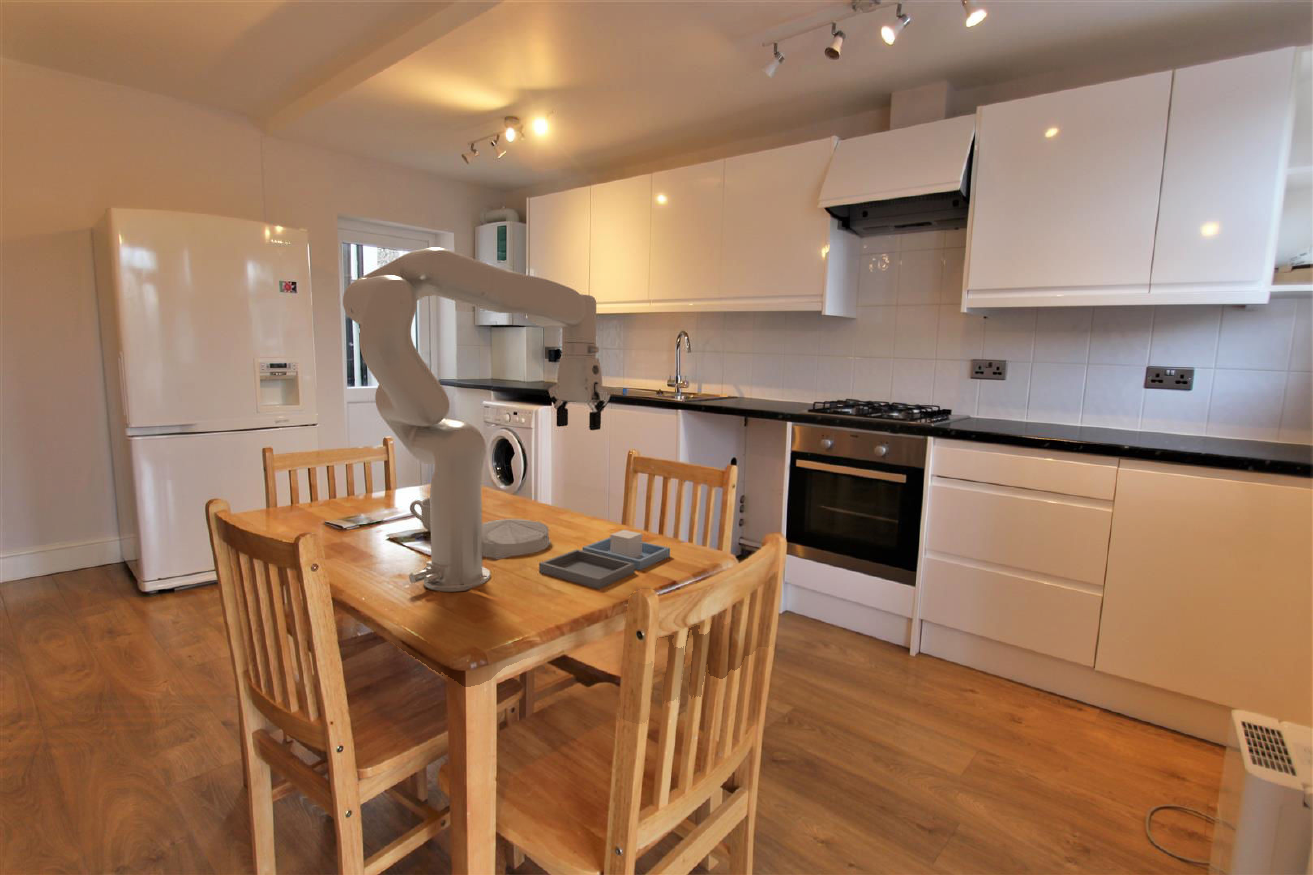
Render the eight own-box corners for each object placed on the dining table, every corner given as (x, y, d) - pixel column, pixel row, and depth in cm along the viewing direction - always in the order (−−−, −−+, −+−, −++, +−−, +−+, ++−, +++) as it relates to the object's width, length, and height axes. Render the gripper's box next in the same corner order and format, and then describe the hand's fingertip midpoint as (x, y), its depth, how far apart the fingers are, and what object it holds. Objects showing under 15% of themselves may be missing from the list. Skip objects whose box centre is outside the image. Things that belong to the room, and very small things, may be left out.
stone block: (628, 560, 137) (628, 538, 136) (610, 556, 140) (610, 534, 139) (641, 555, 141) (642, 533, 140) (623, 550, 144) (624, 529, 143)
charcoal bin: (598, 592, 120) (599, 579, 120) (539, 574, 129) (539, 562, 128) (634, 575, 130) (634, 563, 129) (576, 560, 138) (576, 549, 138)
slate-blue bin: (639, 572, 131) (640, 561, 131) (582, 558, 140) (582, 547, 140) (669, 558, 141) (670, 547, 141) (614, 545, 149) (614, 535, 149)
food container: (561, 538, 156) (561, 511, 156) (538, 562, 137) (538, 532, 136) (483, 535, 158) (483, 508, 158) (450, 558, 139) (449, 528, 138)
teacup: (475, 528, 162) (474, 497, 161) (450, 539, 151) (449, 506, 150) (427, 522, 165) (427, 493, 164) (400, 533, 155) (399, 502, 154)
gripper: (620, 352, 139) (618, 429, 141) (561, 351, 148) (561, 423, 150) (598, 352, 133) (597, 432, 135) (538, 350, 142) (538, 426, 144)
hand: (578, 427), depth 143 cm, fingers open, 9 cm apart
